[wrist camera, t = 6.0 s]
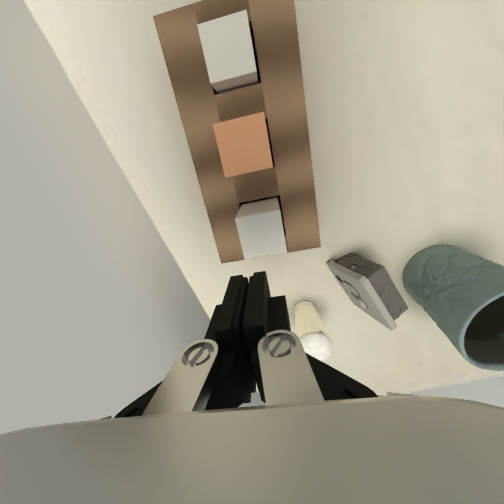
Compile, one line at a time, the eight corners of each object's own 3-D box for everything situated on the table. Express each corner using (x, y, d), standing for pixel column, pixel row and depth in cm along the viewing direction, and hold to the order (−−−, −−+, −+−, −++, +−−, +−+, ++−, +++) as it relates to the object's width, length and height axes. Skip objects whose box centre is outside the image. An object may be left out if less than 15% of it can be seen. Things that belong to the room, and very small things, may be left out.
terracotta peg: (226, 131, 24) (212, 124, 18) (264, 122, 24) (263, 111, 18) (234, 172, 26) (225, 177, 20) (271, 164, 25) (273, 167, 19)
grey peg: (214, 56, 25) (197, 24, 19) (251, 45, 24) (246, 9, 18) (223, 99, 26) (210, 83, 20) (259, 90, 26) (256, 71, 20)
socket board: (173, 41, 25) (153, 16, 21) (286, 7, 24) (290, -28, 19) (227, 248, 34) (221, 263, 29) (313, 233, 32) (320, 246, 28)
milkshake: (280, 304, 37) (284, 354, 28) (313, 292, 36) (329, 340, 27) (291, 326, 38) (299, 380, 29) (323, 315, 37) (342, 368, 28)
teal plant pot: (433, 226, 31) (525, 266, 20) (492, 261, 32) (610, 316, 21) (382, 285, 35) (436, 347, 24) (437, 314, 36) (512, 386, 25)
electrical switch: (324, 261, 34) (348, 288, 26) (353, 242, 33) (386, 265, 25) (352, 302, 36) (382, 339, 28) (380, 286, 35) (418, 319, 28)
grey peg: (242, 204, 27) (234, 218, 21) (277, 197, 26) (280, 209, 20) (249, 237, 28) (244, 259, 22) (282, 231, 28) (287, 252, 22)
